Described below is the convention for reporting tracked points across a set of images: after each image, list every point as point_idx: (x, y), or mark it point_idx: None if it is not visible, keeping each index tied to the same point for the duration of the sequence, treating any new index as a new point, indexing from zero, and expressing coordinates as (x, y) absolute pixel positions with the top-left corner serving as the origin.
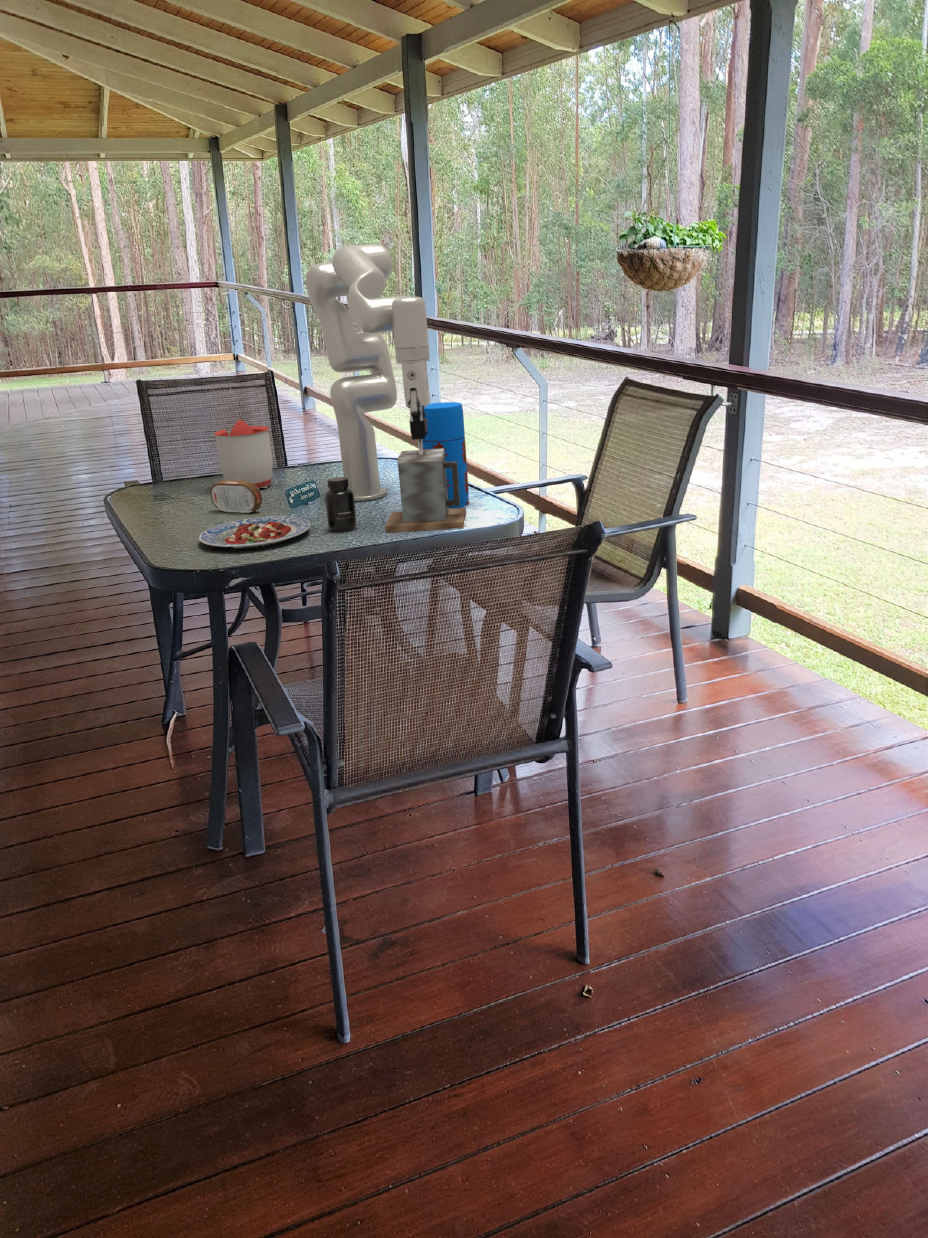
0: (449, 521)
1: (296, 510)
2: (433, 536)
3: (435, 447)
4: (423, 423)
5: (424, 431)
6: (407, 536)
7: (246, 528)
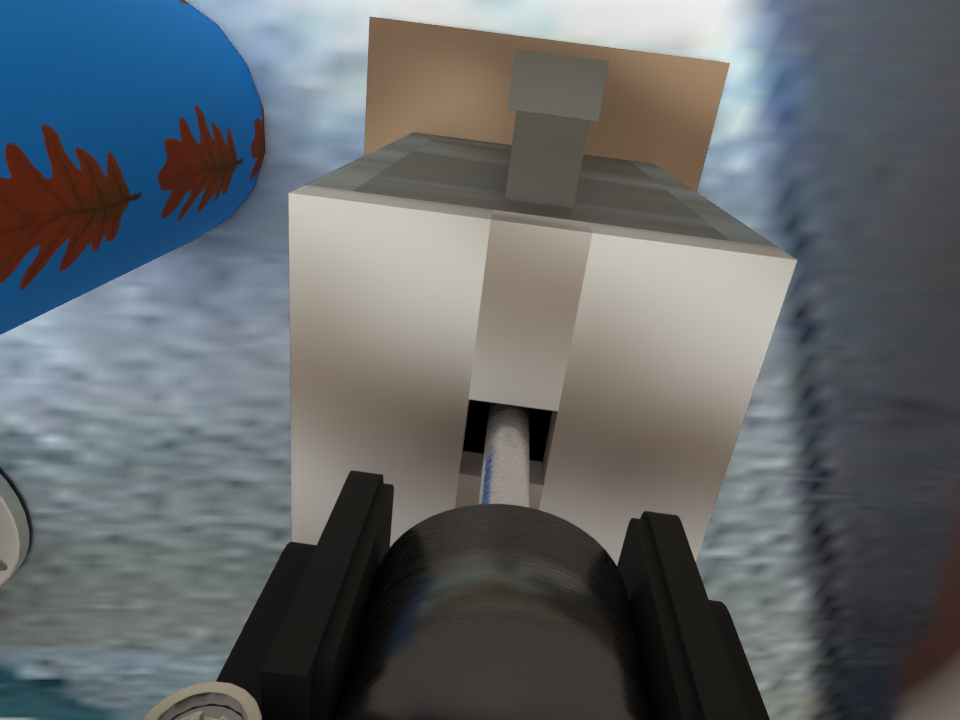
0: (677, 145)
1: (149, 709)
2: (802, 239)
3: (2, 262)
4: (741, 708)
5: (696, 585)
6: None
7: None
